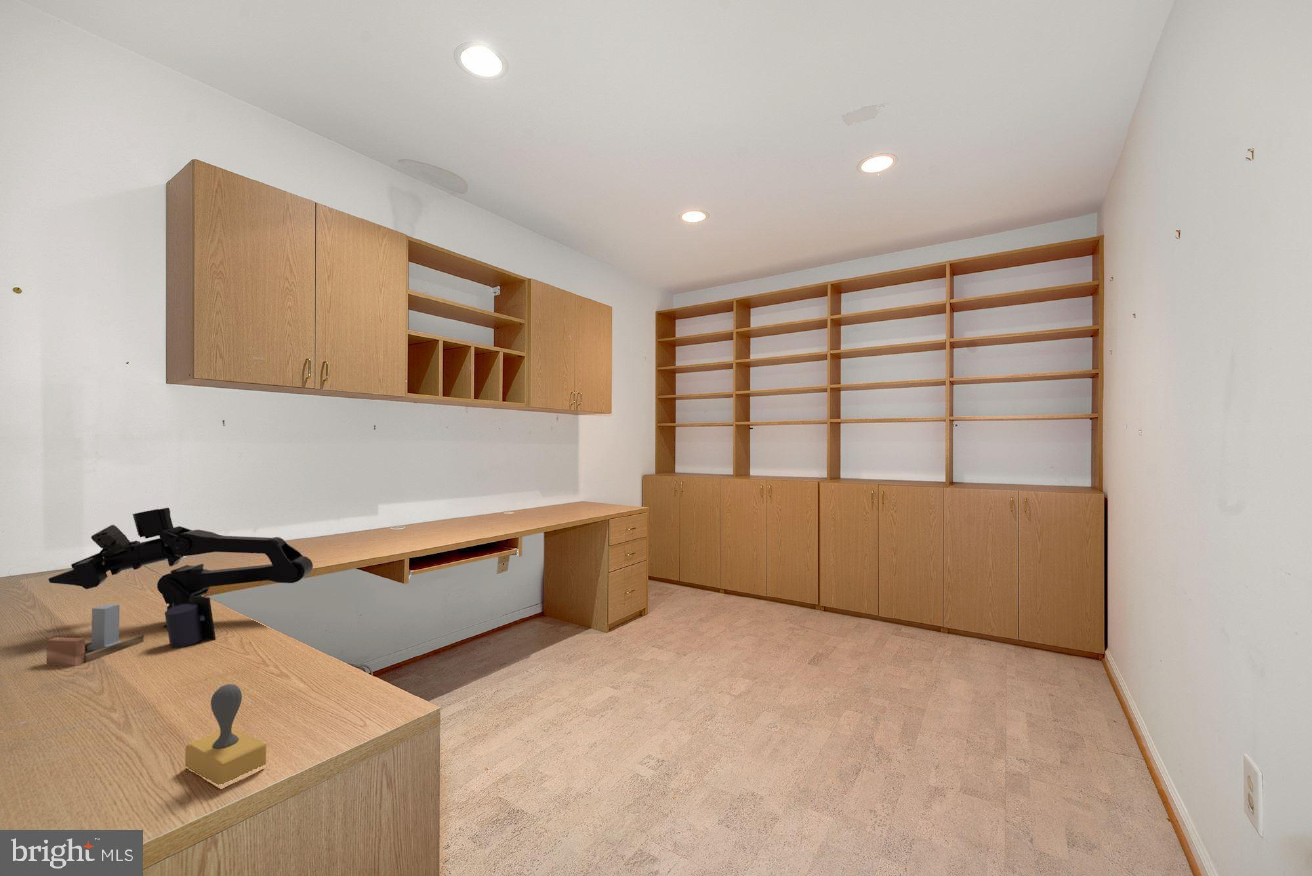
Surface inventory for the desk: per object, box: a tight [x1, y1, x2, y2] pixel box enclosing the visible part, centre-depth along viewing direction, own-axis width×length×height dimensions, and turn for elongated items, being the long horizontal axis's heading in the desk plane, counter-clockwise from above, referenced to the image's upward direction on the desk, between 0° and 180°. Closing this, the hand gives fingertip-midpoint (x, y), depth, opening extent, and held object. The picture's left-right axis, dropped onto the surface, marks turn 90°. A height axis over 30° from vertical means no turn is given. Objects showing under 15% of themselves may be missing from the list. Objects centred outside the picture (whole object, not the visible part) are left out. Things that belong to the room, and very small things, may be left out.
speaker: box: [164, 596, 217, 649], centre depth 122 cm, size 8×6×10 cm
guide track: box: [46, 634, 145, 667], centre depth 116 cm, size 13×7×5 cm, turn 177°
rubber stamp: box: [184, 683, 267, 785], centre depth 76 cm, size 10×6×12 cm, turn 63°
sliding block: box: [87, 603, 123, 652], centre depth 117 cm, size 3×5×9 cm, turn 87°
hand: (60, 573), depth 126 cm, fingers open, 9 cm apart
